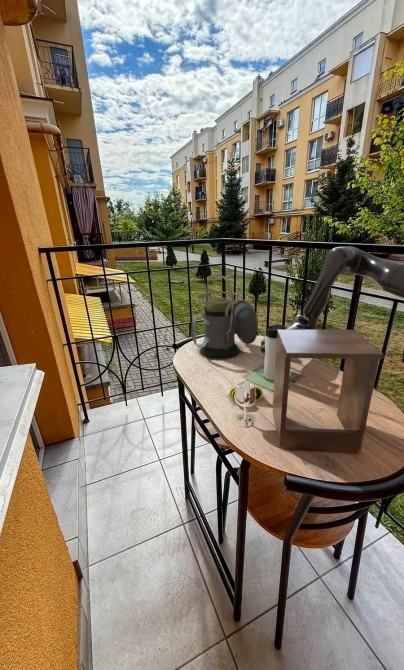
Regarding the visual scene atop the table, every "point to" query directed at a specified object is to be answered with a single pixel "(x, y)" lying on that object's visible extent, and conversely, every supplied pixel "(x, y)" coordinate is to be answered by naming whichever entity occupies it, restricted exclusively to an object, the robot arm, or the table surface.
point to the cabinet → (352, 394)
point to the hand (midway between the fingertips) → (271, 352)
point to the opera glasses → (258, 393)
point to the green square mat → (263, 380)
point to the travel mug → (271, 351)
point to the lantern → (225, 324)
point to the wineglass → (245, 400)
